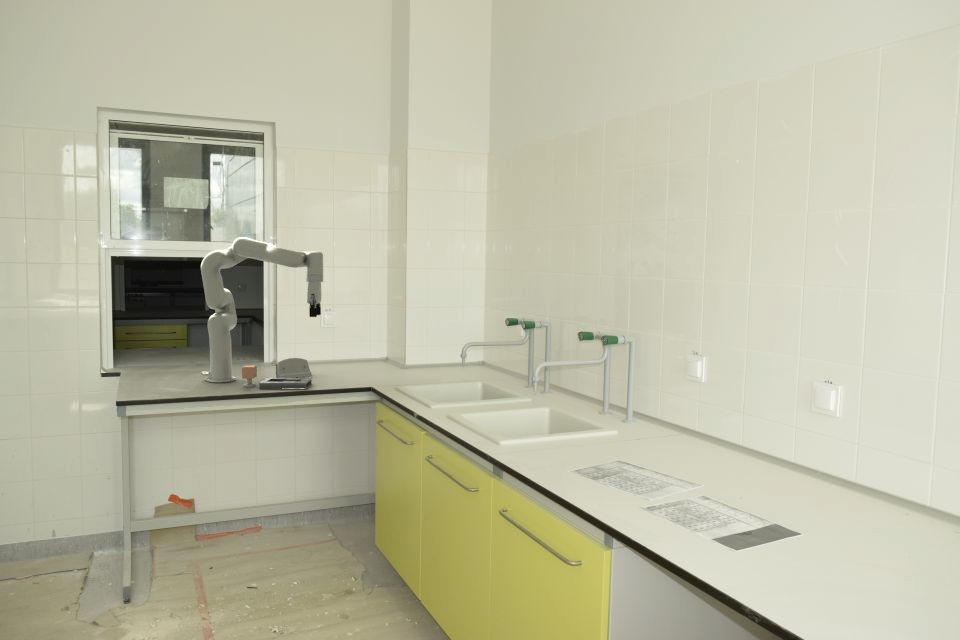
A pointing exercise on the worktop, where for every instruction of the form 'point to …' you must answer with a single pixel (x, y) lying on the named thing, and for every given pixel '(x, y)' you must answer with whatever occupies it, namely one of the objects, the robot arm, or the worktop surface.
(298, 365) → the grey arched block
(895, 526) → the worktop surface
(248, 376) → the t peg
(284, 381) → the keyhole plate
